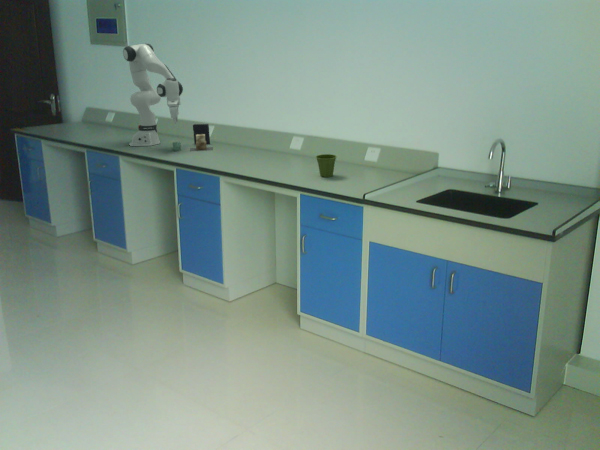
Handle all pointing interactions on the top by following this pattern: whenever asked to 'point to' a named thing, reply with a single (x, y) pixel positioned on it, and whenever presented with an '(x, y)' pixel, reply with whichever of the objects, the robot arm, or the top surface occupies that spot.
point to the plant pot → (326, 164)
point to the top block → (200, 138)
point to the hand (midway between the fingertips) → (175, 122)
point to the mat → (201, 150)
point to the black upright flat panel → (201, 131)
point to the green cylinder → (176, 146)
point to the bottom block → (201, 146)
